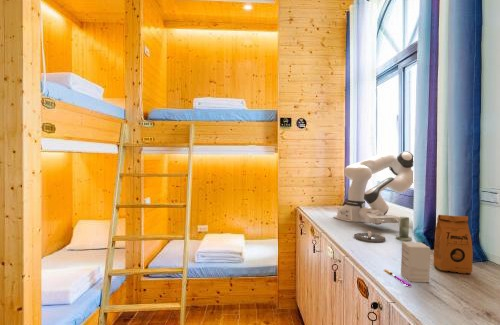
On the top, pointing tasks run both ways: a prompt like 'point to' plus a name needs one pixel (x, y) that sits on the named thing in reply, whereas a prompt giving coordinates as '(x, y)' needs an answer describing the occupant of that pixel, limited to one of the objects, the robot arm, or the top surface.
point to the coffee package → (453, 244)
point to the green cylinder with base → (404, 229)
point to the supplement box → (415, 261)
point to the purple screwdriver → (398, 278)
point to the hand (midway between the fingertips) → (390, 221)
